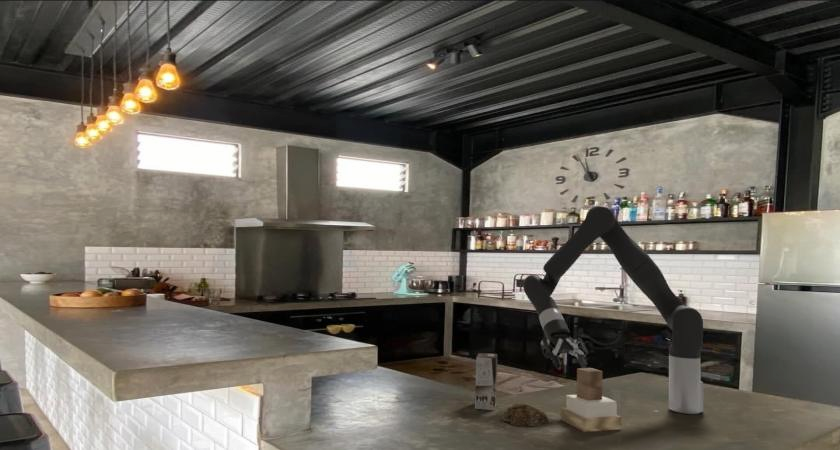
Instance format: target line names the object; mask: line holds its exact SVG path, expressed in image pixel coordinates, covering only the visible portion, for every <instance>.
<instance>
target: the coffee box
mask: <svg viewBox="0 0 840 450" xmlns="http://www.w3.org/2000/svg"><path fill="white" fill-rule="evenodd" d="M475 359H476V361H475V386H474V387H475V389H474V390H475V391H474V396H475V397H474V409H475V410H485V411H495V409H496V406H497V394H498V393H497V392H498V388H497V387H498V386H497V384H498V354H497V353H486V352H485V353H481V352H479V353H477V355H476V357H475Z"/></svg>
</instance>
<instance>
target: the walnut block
mask: <svg viewBox="0 0 840 450" xmlns="http://www.w3.org/2000/svg"><path fill="white" fill-rule="evenodd" d="M576 394H577V397H580V398H583V399H585V400H600V399H602V396H603V370H599V369H596V368H593V367H586V368H581V367H580V368H579V367H578V368H576Z"/></svg>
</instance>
